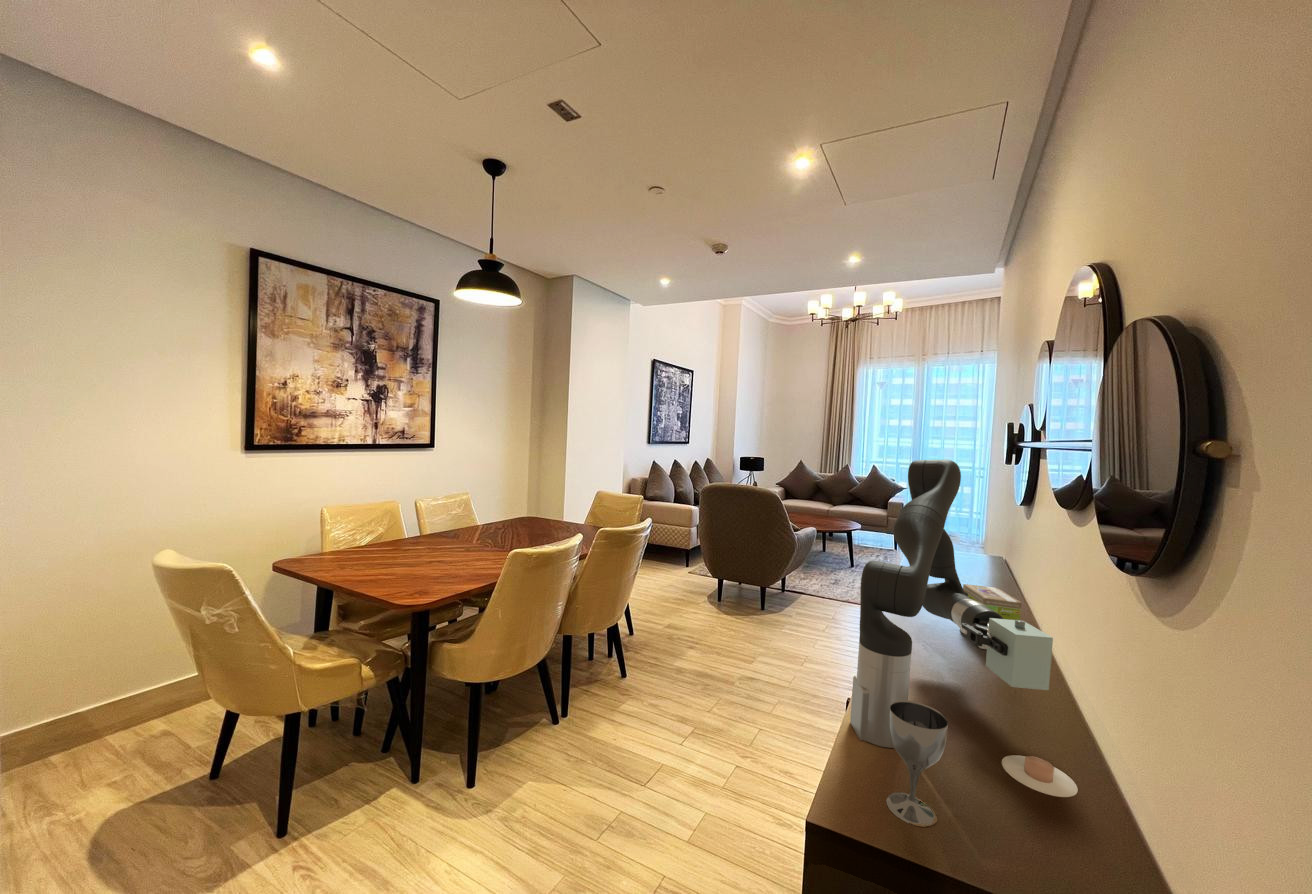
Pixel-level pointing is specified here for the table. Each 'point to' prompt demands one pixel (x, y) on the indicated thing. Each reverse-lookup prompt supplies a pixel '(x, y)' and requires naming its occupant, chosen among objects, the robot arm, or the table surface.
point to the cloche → (1021, 654)
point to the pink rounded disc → (1039, 769)
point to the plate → (1058, 787)
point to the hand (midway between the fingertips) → (1025, 652)
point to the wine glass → (915, 753)
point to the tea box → (994, 601)
